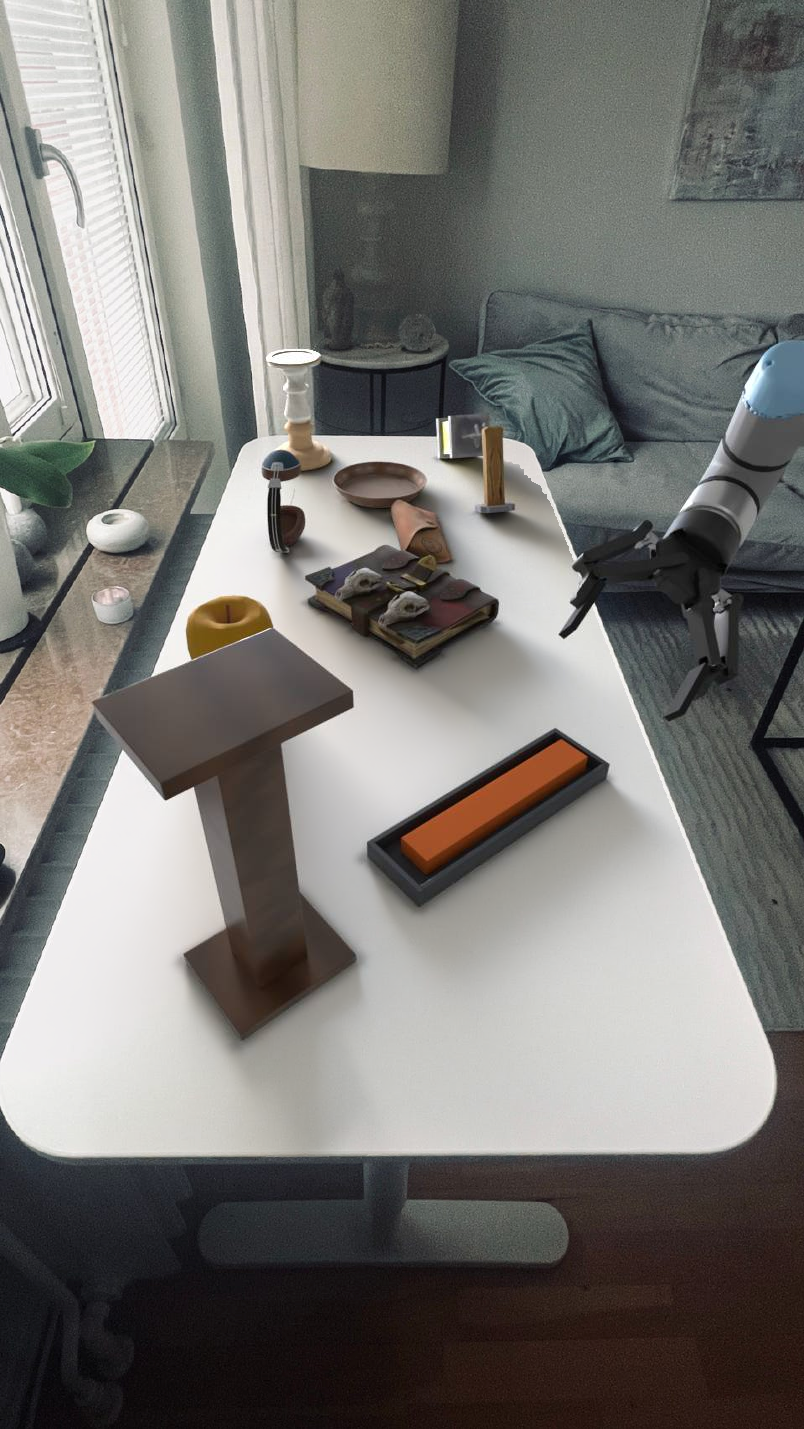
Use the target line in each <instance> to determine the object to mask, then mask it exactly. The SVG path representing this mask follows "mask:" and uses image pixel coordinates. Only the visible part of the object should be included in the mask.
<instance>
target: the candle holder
mask: <svg viewBox="0 0 804 1429" xmlns="http://www.w3.org/2000/svg"><path fill="white" fill-rule="evenodd" d="M265 361H266V364H267V365H268V366H269V367H271V368H274V369H277V370H281V372H282V373H283V374H284V376H285V378H286V383H285V384H284V385H283V387H282V390H283V391H284V392H285V393H286V403H285V407H284V414H283V415H284V417H285V419H286V420H288V421H287V422H286V424H285V425H284V430H285V431H286V432H287V433H288V441H286V442H283V444H281V445H280V446H279V447H277V448H276V449H274V451H275V450H279V449H283V450H287V451H289V452H291V453H292V454H293V455H294V456H295V457H296V458H297V459H298V460H299V462H300V465H301V472H302V471H311V470H317V469H320V468H323V467H325V466H326V465H328V464H329V463H330V462H331V460H332V451H331V450H330V448H328V447H327V446H325V445H323V444H321V443H320V442H319V441H315V440H313V438H312V432H313V430H314V428H315V425H314V423H313V422H312V421H311V420H310V419H311V417H312V416H313V411H312V408H311V405H310V403H309V397H308V395H307V392H308V391H309V390H310V386H309V384H307V383H306V381H305V376H306V373H307V372H308V371H309V369H310V368H314V367H316V366H319V365H320V364H321V362H322V355H321V353H319V352H316V351H313V350H311V349H302V348H301V349H300V348H299V349H298V348H295V349H294V348H291V349H282V350H276V351H273V352H271V353H269V354H268V355H267V356H266V359H265Z"/></svg>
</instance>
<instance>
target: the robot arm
mask: <svg viewBox="0 0 804 1429" xmlns="http://www.w3.org/2000/svg"><path fill="white" fill-rule="evenodd" d="M800 447H804V340H803V339H802V340H801V339H793V340H792V339H790V340H785V341H782V342H779V343H777V344H775V345H773V346H771V347H769V349H767V350H766V351H765V352H764V353H763V355H762V356H761V357H760V359H759V361H758V363H756V365H755V367H754V369H753V371H752V373H751V375H750V376H749V378H748V380H747V381H746V383H745V385H744V388H743V390H742V393H741V396H740V398H739V401H738V403H737V405H736V408H735V410H734V413H733V416H732V418H731V420H730V422H729V425H728V427H727V429H726V430H725V433H724V434H723V436H722V438H721V440H720V443H719V445H718V447H717V449H716V452H715V454H714V455H713V458H712V460H711V462H710V463H709V466H707V469H706V471H705V472H704V473H703V475H702V477H701V479H700V480H699V482H698V484H697V485H696V486H695V488H694V490H693V491H692V493H691V494H690V496H689V497H688V498H687V500H686V502H685V503H684V504H683V506H682V508H681V509H680V511H679V512H678V515H677V516H676V518H674V520H673V521H672V523H671V525H670V526H669V528H668V529H667V531H666V532H665V534H664V535H663V537H662V538H659V537H658V535H656V534H655V533H654V532H653V530H652V529H653V528H654V525H653V523H652V521H650V520H648V519H645V520H643V521H642V522H641V523H640V524H638V526H636V527H635V528H634V529H633V530H632V531H630V532H628V533H626V534H623V535H621V536H618V537H616V538H614V539H611V540H608V541H607V542H604V543H602V544H599V545H597V546H595V547H592V548H590V549H587V550H585V551H583V553H582V554H580V556H578V557H577V559H575V560H574V561H573V562H572V564H571V568H572V570H573V571H574V572H576V573H579V575H580V576H581V579H580V581H579V582H578V586H577V588H576V589H575V590H574V592H573V594H572V595H571V596H570V599H569V604H570V605H571V606H573V607H574V608H575V609H574V610H573V612H572V613H571V614H570V617H569V618H568V619H567V621H566V622H565V623H564V625H563V627H562V628H561V630H560V632H559V633H558V636H559V637H560V638H562V639H563V640H565V639H567V637H569V636H570V635H571V634H572V633H574V632H575V631H576V630H578V628H579V627H580V625H581V624H582V622H583V621H584V619H585V617H586V616H587V615H588V613H589V612H590V610H591V609H592V607H593V606H594V604H595V602H596V601H597V600H598V598H599V596H600V595H601V594H602V592H603V590H604V589H605V588H606V586H608V585H614V584H622V583H629V582H636V581H638V582H646V581H647V582H648V581H653V583H654V584H655V586H654V587H655V588H656V589H657V590H658V591H660V592H661V593H663V594H666V595H667V597H668V598H669V599H670V600H671V601H672V602H673V603H675V604H676V605H679V604H680V607H681V611H682V616H683V618H684V619H686V620H687V626H688V630H689V635H690V640H691V645H692V650H693V651H692V652H693V655H694V660H695V667H694V668H692V669H690V670H689V671H688V673H687V675H686V676H685V678H684V679H683V681H682V682H681V685H680V687H679V688H678V690H677V692H676V693H675V695H674V697H673V699H672V701H671V703H670V705H669V706H668V708H667V710H666V712H665V713H664V715H663V719H665V720H666V721H668V722H671V721H674V720H677V719H678V718H681V717H683V716H685V715H686V713H687V712H688V710H689V708H690V706H691V705H692V703H693V702H695V701H697V700H699V699H701V698H703V697H705V696H706V695H707V694H708V691H709V690H710V688H711V686H712V685H713V682H714V683H715V684H716V685H720V686H721V685H723V684H725V683H727V682H730V681H731V680H733V679H735V678H737V677H738V676H739V650H740V648H739V647H740V646H739V643H740V642H739V641H740V640H739V636H740V635H739V632H740V630H739V628H740V625H739V621H740V618H739V617H740V616H739V615H740V614H739V613H740V611H741V608H742V606H743V603H744V596H743V594H741V593H739V592H735V593H734V594H730V593H729V592H727V591H726V590H725V589H723V588H722V579H723V577H724V575H725V574H726V572H727V571H728V569H729V568H730V565H731V564H732V562H733V560H734V559H735V557H736V555H737V553H738V551H739V549H740V548H741V546H742V545H743V543H744V541H745V540H746V538H747V536H748V534H749V532H750V531H751V529H752V527H753V526H754V523H755V522H756V520H757V518H758V516H759V514H760V512H761V511H762V509H763V508H764V506H765V505H766V503H767V501H768V500H769V498H770V496H771V495H772V493H773V492H774V490H775V488H776V487H777V486H778V484H779V483H780V481H781V480H782V478H783V476H784V475H785V472H786V470H787V468H788V465H789V464H790V462H791V461H792V459H793V457H794V456H795V454H796V453H797V452H798V449H799V448H800ZM633 548H634V549H635V550H638V549H643V548H649V558H648V559H643V560H642V559H641V560H634V561H628V562H627V561H626V562H620V563H612V564H611V563H610V564H605V565H600V564H602V563H604V562H607V561H609V560H611V559H614V558H615V557H619V556H620V555H623V554H625V553H627V552H629V551H630V550H632V549H633ZM713 601H714V602H713ZM695 603H696V604H695ZM713 606H714V607H713ZM712 611H713V612H714V613H715V615H714V619H713V614H712Z"/></svg>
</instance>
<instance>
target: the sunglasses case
mask: <svg viewBox="0 0 804 1429" xmlns="http://www.w3.org/2000/svg"><path fill="white" fill-rule="evenodd" d="M390 514H391V519H392V522H393V525H394V529H395V533H396V536H397V541H398V544H399V547H400V550H403V551H407V552H409V553H411V554H413V555H415V556H417V557H419V558H421V559H422V558H424V557H426V556H429V555H431V556H433V557H435V560H436V563H437V564H442V563H443V564H445V563H448V562H451V561H452V555H451V553H450V549H449V547H448V545H447V543H446V541H445V538H444V535H443V532H442V529H441V526H440V523H439V520H438V514H437V513H435V512H432V511H429V510H425V509H424V508H423V509H422V508H419V507H417V506H414V505H413V504H412V505H411V504H410V503H409V502H408V503H406V502H404V501H401V500H397V501H395V502H394V503H393V505H392V507H390Z"/></svg>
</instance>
